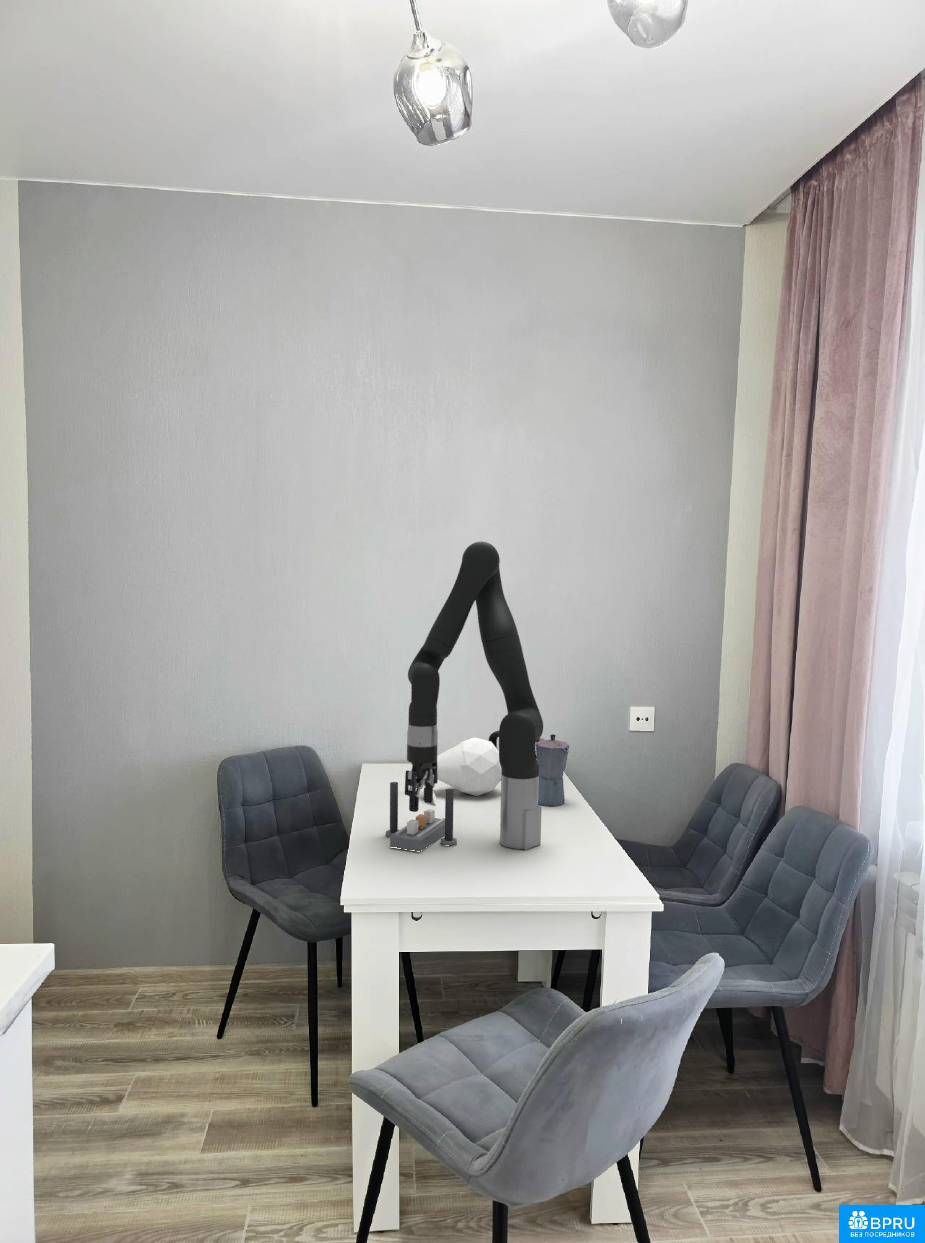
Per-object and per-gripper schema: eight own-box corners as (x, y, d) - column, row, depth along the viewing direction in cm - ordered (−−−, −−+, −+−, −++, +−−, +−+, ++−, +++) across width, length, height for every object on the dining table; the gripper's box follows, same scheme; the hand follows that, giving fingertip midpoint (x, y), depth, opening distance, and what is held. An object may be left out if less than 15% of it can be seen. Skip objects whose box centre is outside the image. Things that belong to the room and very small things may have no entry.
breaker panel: (420, 852, 215) (420, 838, 214) (390, 848, 218) (390, 833, 217) (449, 831, 231) (449, 817, 231) (421, 827, 234) (421, 813, 234)
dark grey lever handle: (404, 835, 227) (405, 782, 226) (393, 839, 224) (393, 785, 223) (393, 832, 230) (394, 780, 229) (382, 835, 227) (382, 782, 226)
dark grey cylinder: (460, 843, 222) (461, 789, 221) (449, 847, 219) (450, 792, 218) (448, 840, 225) (449, 786, 223) (437, 843, 222) (438, 789, 220)
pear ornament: (503, 725, 270) (410, 727, 265) (516, 784, 253) (416, 787, 248) (496, 761, 280) (406, 764, 276) (508, 821, 263) (412, 824, 259)
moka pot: (556, 811, 251) (558, 740, 250) (517, 799, 263) (518, 731, 261) (578, 805, 258) (580, 735, 256) (539, 793, 269) (541, 727, 268)
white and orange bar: (413, 834, 218) (413, 823, 218) (406, 833, 219) (407, 822, 218) (434, 820, 230) (434, 809, 229) (428, 819, 230) (428, 808, 230)
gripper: (424, 749, 215) (423, 816, 216) (447, 738, 228) (446, 801, 229) (395, 746, 217) (394, 812, 219) (420, 735, 231) (419, 797, 232)
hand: (421, 806), depth 224 cm, fingers open, 8 cm apart
